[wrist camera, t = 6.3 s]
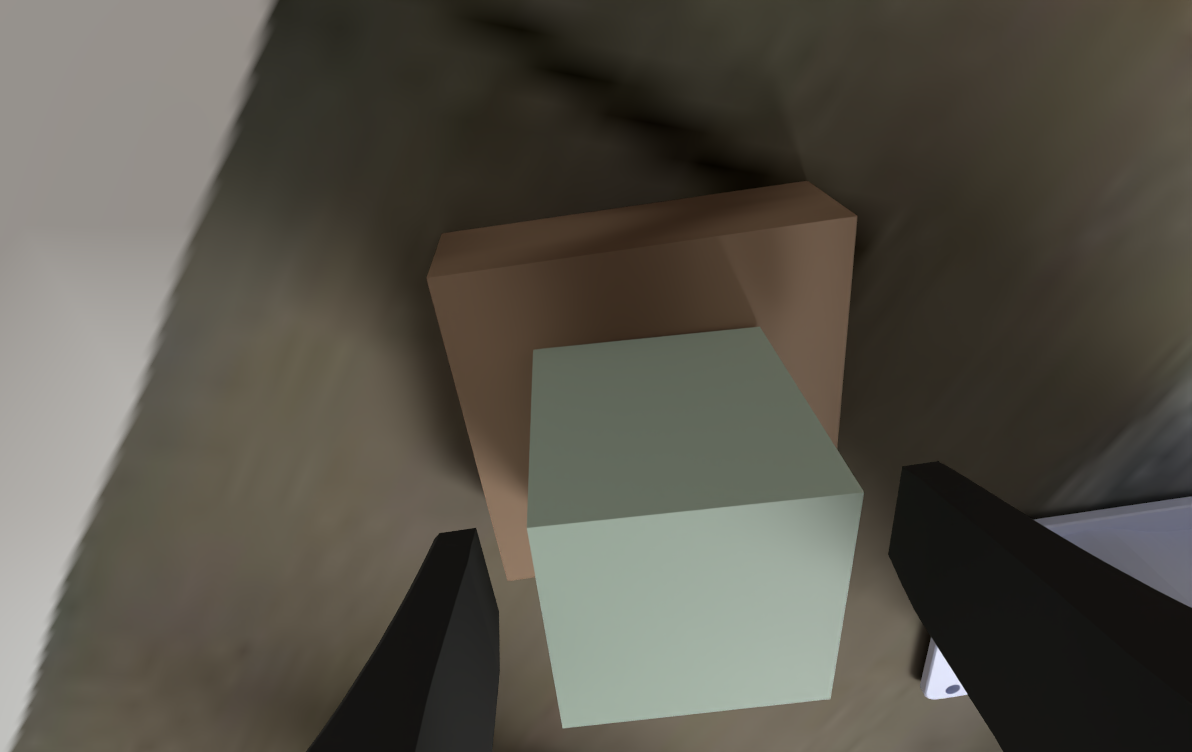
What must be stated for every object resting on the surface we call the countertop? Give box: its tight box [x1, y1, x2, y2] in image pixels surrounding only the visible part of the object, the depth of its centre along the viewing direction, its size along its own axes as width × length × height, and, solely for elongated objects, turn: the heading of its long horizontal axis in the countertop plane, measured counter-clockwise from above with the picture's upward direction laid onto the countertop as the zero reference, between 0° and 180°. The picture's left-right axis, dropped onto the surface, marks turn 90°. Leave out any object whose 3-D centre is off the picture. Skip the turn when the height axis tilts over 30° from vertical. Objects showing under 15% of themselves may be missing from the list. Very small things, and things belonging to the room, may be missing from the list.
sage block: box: [527, 327, 864, 728], centre depth 12 cm, size 4×4×5 cm
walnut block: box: [426, 181, 857, 581], centre depth 16 cm, size 8×8×3 cm
